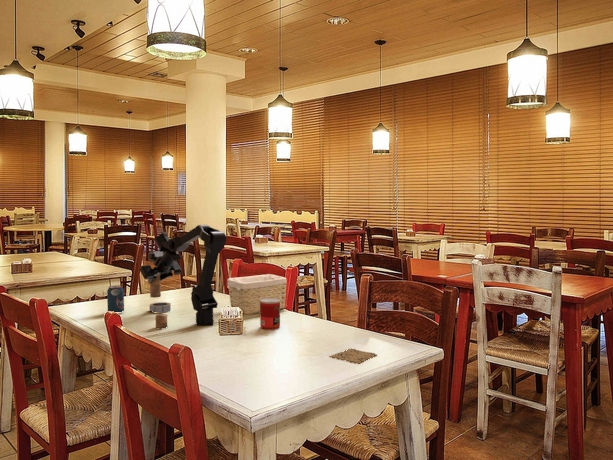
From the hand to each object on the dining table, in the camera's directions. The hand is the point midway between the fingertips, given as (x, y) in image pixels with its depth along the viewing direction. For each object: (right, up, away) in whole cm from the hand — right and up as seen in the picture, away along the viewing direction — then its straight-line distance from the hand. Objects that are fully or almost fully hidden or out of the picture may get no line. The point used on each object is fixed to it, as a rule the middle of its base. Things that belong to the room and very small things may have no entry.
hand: (153, 281), depth 238 cm
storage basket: (+46, -14, +6) cm, 49 cm away
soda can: (-16, -14, -2) cm, 21 cm away
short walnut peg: (+11, -16, -28) cm, 34 cm away
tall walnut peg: (+1, -7, 0) cm, 7 cm away
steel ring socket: (+2, -13, +2) cm, 14 cm away
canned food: (+55, -16, -27) cm, 63 cm away
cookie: (+85, -19, -65) cm, 108 cm away
